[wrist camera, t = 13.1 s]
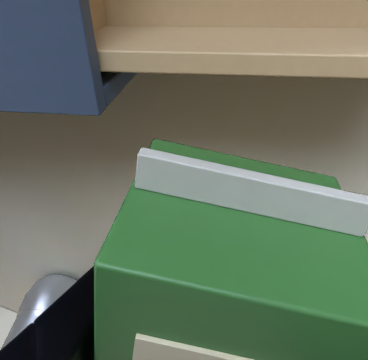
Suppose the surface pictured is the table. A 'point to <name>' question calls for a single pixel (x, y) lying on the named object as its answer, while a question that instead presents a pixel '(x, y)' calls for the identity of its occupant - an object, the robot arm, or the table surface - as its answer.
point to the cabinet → (52, 59)
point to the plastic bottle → (38, 301)
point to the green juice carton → (232, 263)
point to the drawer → (233, 37)
